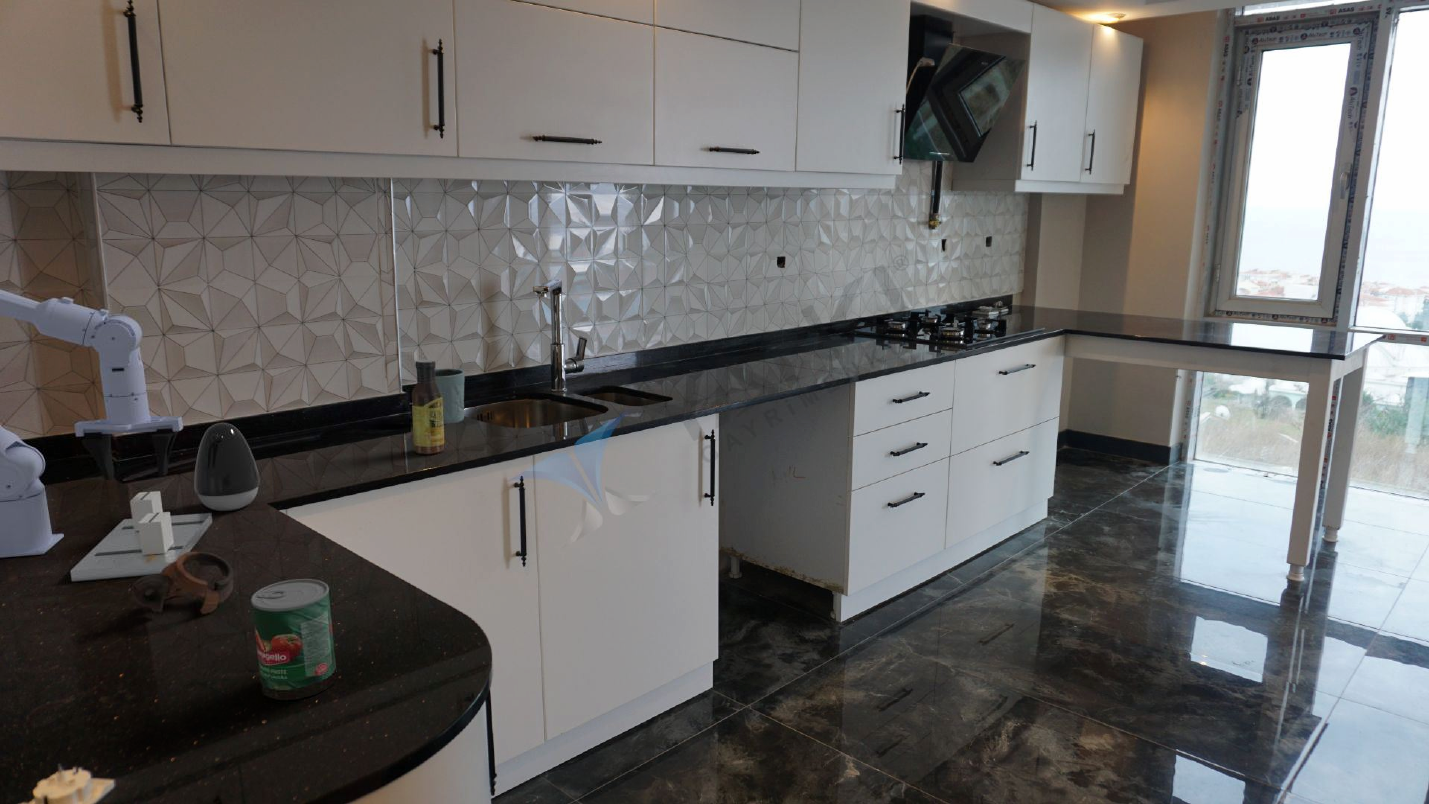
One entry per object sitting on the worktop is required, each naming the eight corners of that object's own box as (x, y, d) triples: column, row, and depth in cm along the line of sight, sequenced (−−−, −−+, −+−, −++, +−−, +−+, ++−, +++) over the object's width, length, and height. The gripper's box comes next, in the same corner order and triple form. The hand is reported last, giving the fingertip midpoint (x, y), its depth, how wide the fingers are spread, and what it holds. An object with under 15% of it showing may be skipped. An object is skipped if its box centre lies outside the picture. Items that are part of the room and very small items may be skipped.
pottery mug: (197, 588, 130) (221, 542, 129) (229, 633, 126) (254, 586, 124) (108, 598, 120) (131, 548, 118) (139, 647, 116) (164, 596, 114)
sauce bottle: (435, 456, 195) (430, 364, 191) (409, 454, 196) (402, 362, 192) (450, 448, 201) (445, 358, 197) (424, 446, 202) (418, 357, 198)
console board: (71, 581, 131) (70, 570, 131) (125, 528, 152) (124, 518, 152) (173, 572, 134) (172, 561, 134) (212, 522, 155) (211, 512, 155)
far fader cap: (134, 531, 146) (129, 500, 145) (143, 521, 150) (139, 491, 149) (155, 529, 147) (151, 499, 146) (163, 520, 151) (159, 490, 150)
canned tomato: (347, 665, 108) (339, 578, 106) (321, 701, 101) (312, 608, 98) (279, 666, 108) (269, 578, 106) (248, 701, 101) (237, 608, 98)
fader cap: (142, 555, 136) (137, 522, 135) (151, 544, 141) (147, 512, 139) (165, 553, 137) (160, 520, 136) (173, 542, 141) (169, 511, 140)
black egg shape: (190, 518, 157) (179, 432, 153) (205, 499, 167) (195, 418, 163) (255, 513, 159) (246, 428, 156) (267, 495, 169) (258, 414, 166)
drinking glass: (472, 415, 231) (470, 368, 228) (457, 425, 221) (455, 376, 218) (434, 414, 232) (431, 367, 229) (417, 424, 222) (414, 375, 219)
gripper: (61, 401, 138) (74, 487, 141) (169, 396, 142) (179, 480, 145) (80, 391, 145) (92, 474, 148) (182, 387, 149) (192, 467, 152)
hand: (136, 476), depth 147 cm, fingers open, 7 cm apart
